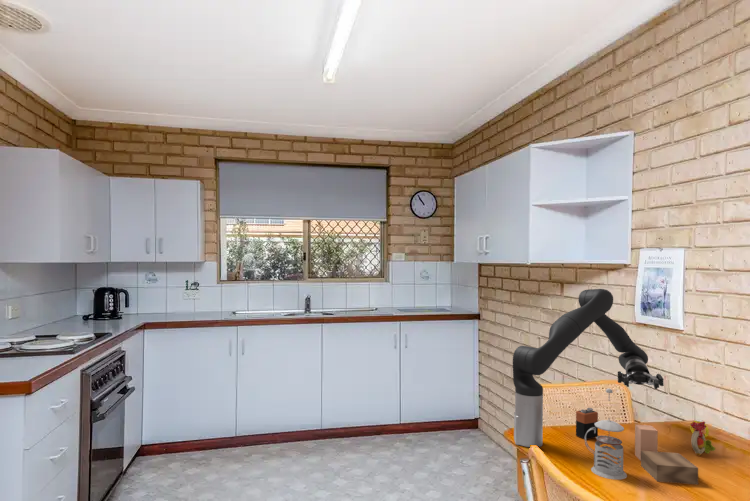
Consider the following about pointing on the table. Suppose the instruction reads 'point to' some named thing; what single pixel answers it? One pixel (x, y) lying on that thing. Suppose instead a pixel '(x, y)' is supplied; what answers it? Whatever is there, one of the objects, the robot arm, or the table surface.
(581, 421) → the battery
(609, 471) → the french press
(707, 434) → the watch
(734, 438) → the table surface
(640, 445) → the terracotta block
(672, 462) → the walnut block
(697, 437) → the bird rattle
